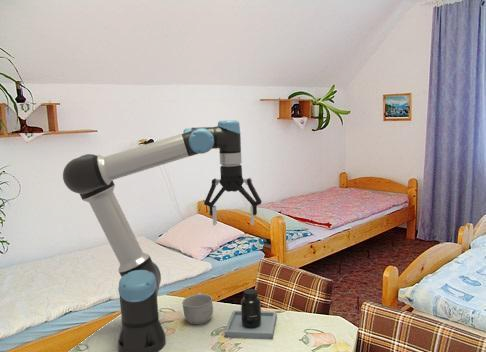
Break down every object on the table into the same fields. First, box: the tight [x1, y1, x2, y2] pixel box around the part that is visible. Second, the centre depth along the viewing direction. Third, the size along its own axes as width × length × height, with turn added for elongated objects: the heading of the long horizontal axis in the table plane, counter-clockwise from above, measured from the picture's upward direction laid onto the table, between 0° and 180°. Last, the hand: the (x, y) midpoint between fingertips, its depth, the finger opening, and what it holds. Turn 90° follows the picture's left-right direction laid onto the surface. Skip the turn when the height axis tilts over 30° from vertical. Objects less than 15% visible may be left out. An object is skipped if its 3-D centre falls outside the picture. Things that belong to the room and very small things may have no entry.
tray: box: [223, 310, 278, 340], centre depth 152 cm, size 16×16×2 cm
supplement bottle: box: [240, 288, 262, 328], centre depth 152 cm, size 7×7×12 cm
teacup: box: [181, 291, 214, 325], centre depth 160 cm, size 14×11×8 cm
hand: (233, 224), depth 155 cm, fingers open, 13 cm apart
